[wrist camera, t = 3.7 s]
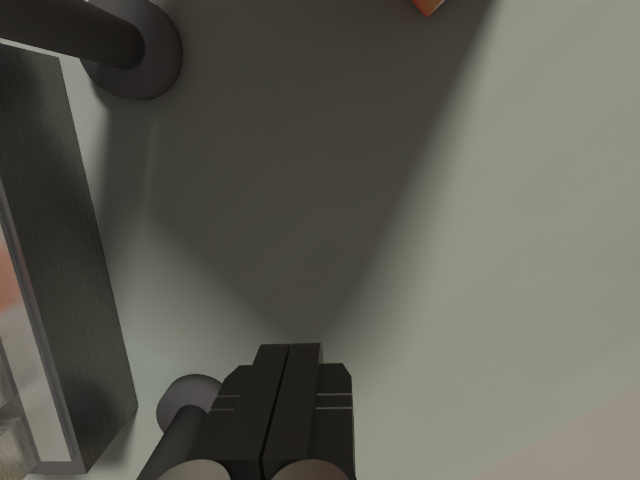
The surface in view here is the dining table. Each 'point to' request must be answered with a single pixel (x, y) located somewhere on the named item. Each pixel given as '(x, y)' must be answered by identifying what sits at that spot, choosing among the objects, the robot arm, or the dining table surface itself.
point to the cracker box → (427, 6)
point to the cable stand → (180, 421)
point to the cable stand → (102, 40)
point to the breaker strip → (52, 286)
